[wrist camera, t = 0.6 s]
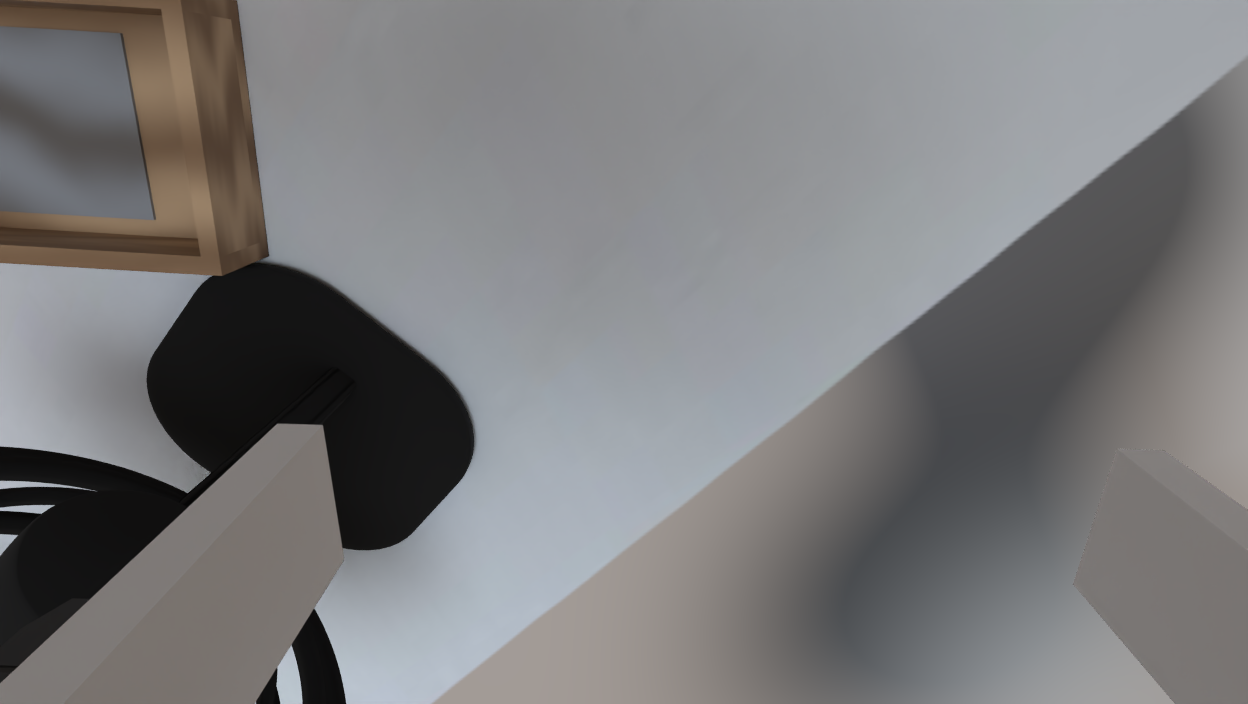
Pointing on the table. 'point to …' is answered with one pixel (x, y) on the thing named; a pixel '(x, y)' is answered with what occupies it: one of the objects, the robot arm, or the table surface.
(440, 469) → the desk fan
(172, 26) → the wooden box
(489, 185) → the table surface
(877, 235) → the table surface
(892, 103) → the table surface
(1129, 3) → the table surface
